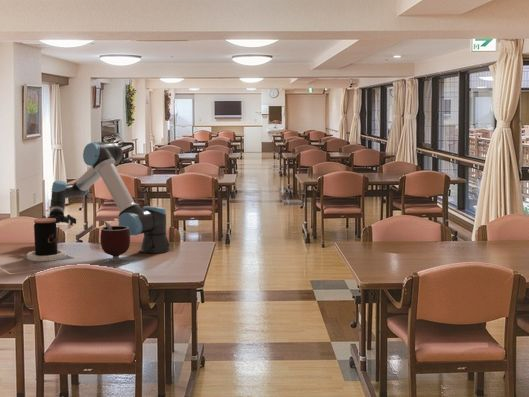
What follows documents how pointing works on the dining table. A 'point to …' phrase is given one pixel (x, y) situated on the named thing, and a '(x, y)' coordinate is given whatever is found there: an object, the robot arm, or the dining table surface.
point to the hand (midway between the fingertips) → (55, 226)
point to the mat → (46, 261)
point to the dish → (34, 257)
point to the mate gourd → (115, 243)
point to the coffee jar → (45, 236)
